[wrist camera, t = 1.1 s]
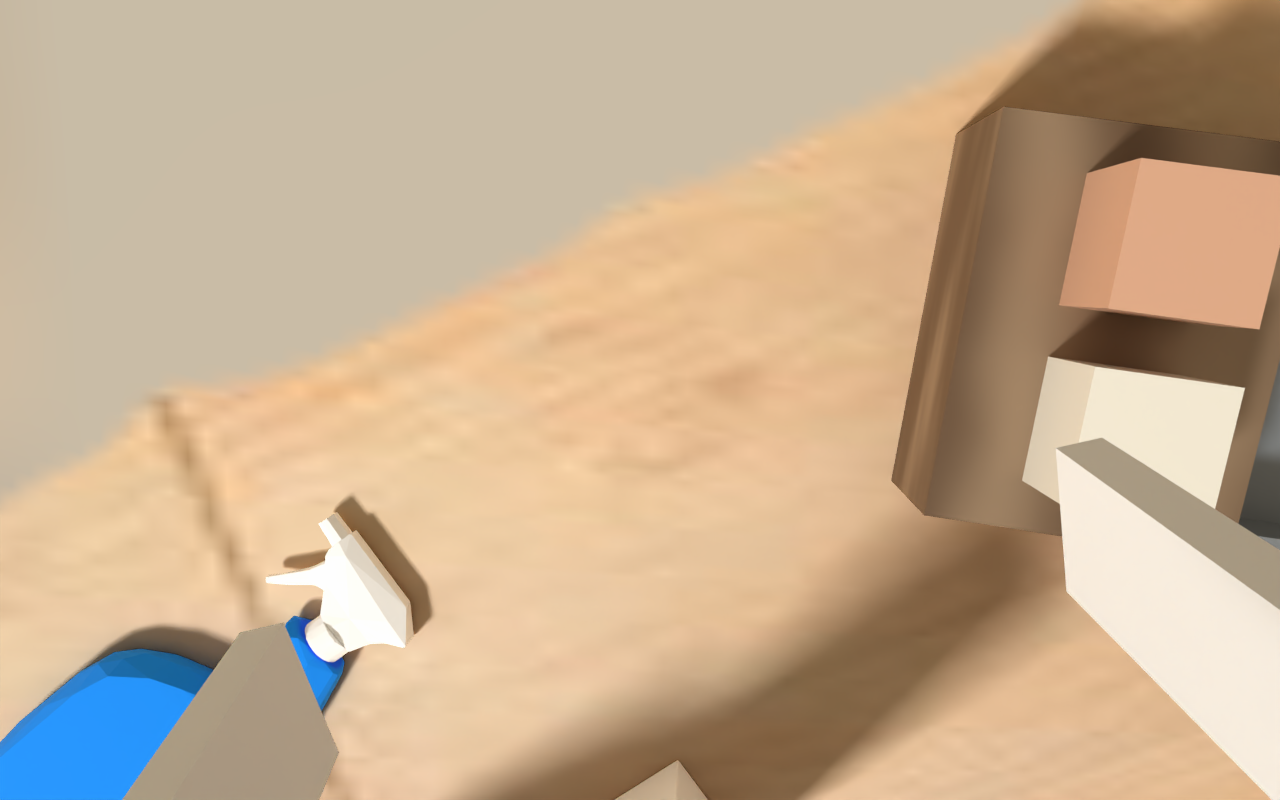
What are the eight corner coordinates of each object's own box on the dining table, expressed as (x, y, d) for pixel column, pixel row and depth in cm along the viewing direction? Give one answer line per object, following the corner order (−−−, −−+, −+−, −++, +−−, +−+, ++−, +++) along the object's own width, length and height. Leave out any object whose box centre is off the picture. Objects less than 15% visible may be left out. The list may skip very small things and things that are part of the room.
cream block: (1179, 375, 33) (1245, 387, 29) (1150, 499, 33) (1210, 528, 29) (1048, 356, 33) (1095, 366, 29) (1022, 480, 34) (1064, 506, 30)
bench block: (1232, 169, 37) (1333, 148, 31) (1149, 519, 39) (1228, 561, 34) (956, 134, 38) (1003, 106, 32) (891, 480, 40) (924, 515, 34)
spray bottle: (83, 933, 44) (447, 673, 41) (-55, 772, 43) (305, 494, 40) (121, 893, 47) (463, 648, 44) (-8, 741, 46) (331, 481, 43)
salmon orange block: (1222, 190, 32) (1297, 178, 28) (1191, 323, 32) (1259, 329, 28) (1086, 173, 32) (1141, 157, 28) (1058, 305, 33) (1107, 308, 29)
